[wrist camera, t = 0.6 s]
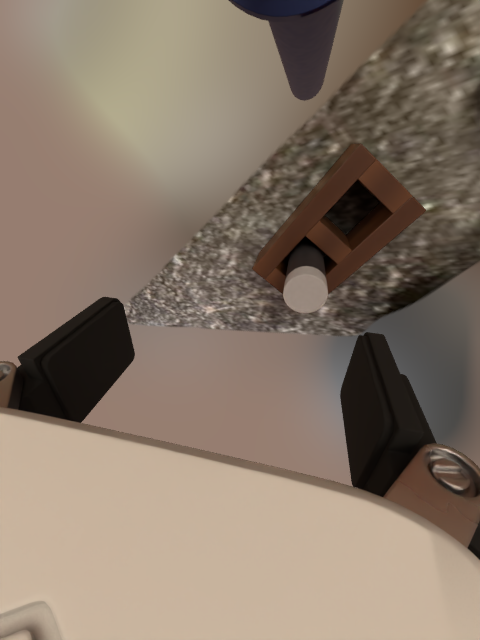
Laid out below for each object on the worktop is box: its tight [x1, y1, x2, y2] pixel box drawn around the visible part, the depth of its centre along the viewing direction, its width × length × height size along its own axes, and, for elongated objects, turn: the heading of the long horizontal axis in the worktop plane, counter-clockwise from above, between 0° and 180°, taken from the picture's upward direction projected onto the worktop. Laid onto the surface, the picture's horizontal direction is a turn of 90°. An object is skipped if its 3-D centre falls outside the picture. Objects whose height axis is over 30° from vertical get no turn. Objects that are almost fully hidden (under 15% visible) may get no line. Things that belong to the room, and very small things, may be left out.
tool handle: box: [283, 236, 328, 313], centre depth 30 cm, size 4×4×13 cm
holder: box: [252, 144, 426, 294], centre depth 31 cm, size 9×16×6 cm, turn 143°
